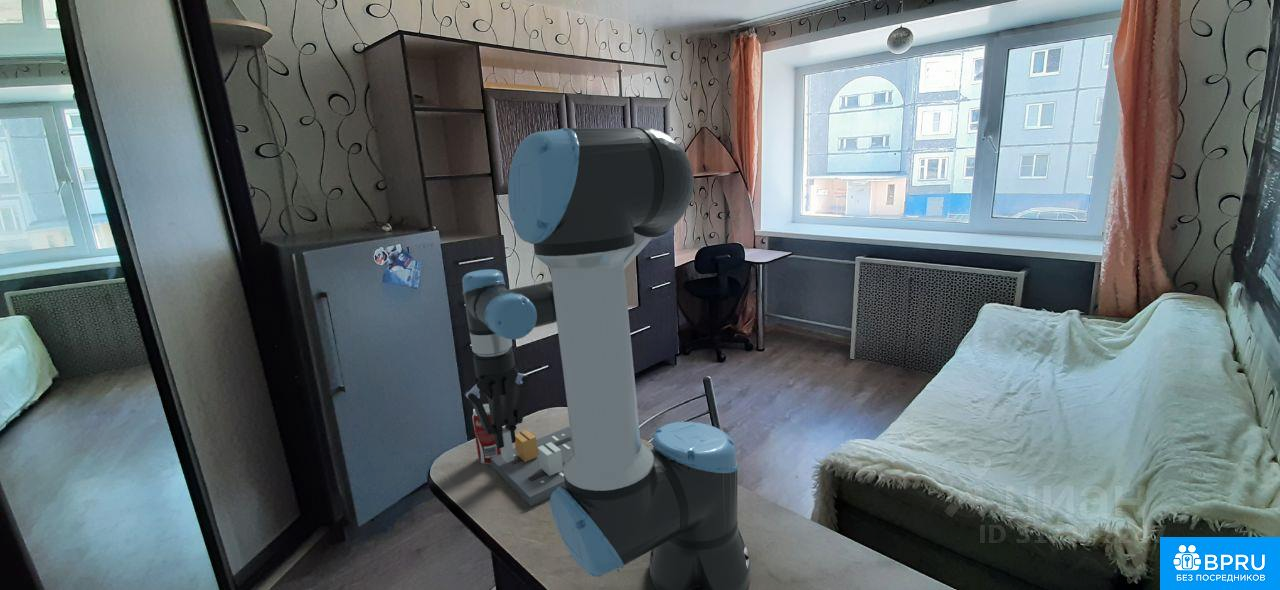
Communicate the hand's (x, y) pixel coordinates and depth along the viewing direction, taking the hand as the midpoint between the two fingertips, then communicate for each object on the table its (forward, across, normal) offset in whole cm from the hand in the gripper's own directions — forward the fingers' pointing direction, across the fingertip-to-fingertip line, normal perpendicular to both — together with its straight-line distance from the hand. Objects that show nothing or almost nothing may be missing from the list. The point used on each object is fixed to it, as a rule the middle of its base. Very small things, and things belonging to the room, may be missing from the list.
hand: (508, 458), depth 109 cm
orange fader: (+1, -4, 0) cm, 4 cm away
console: (+3, -8, +4) cm, 9 cm away
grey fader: (+1, -6, +8) cm, 10 cm away
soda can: (+4, 0, -8) cm, 9 cm away
